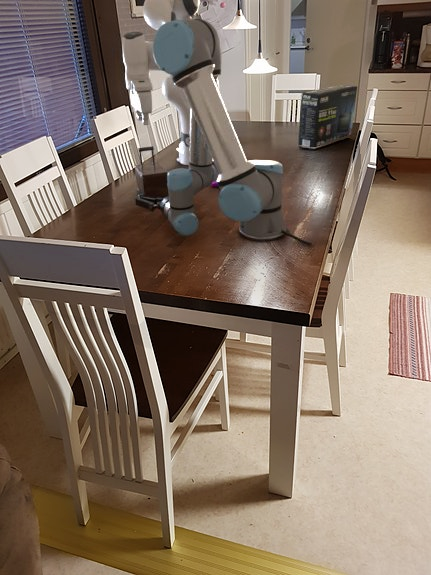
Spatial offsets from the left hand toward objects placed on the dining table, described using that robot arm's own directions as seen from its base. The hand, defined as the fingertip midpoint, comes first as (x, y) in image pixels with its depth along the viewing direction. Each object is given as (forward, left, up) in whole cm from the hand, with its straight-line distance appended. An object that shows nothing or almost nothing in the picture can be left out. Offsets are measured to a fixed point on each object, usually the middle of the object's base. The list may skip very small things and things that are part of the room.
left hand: (142, 122), depth 175 cm
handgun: (-6, +30, -27) cm, 41 cm away
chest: (+4, +3, -27) cm, 28 cm away
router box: (-91, +60, -27) cm, 112 cm away
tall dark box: (+3, +3, -17) cm, 18 cm away
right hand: (+15, +11, -21) cm, 28 cm away
